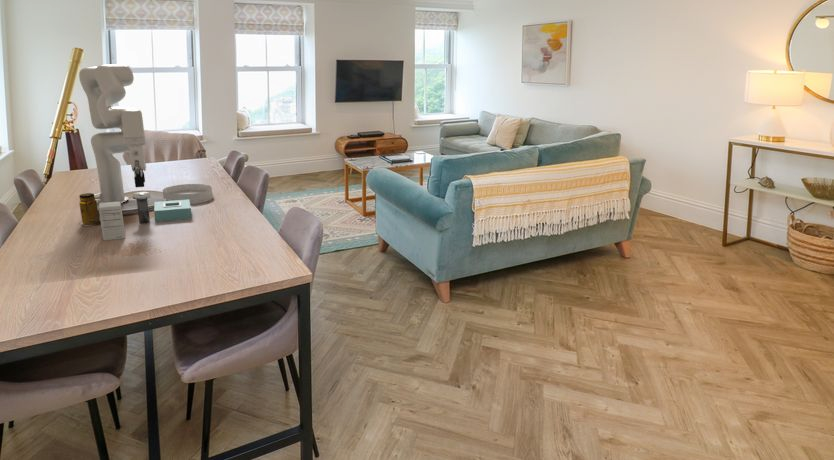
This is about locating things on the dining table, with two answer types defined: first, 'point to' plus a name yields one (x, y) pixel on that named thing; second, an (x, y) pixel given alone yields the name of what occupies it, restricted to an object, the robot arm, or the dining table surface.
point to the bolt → (142, 206)
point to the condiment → (89, 210)
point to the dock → (172, 210)
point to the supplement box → (111, 220)
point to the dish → (188, 193)
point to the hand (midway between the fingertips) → (140, 184)
